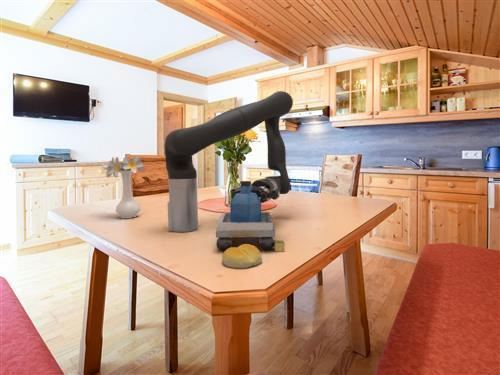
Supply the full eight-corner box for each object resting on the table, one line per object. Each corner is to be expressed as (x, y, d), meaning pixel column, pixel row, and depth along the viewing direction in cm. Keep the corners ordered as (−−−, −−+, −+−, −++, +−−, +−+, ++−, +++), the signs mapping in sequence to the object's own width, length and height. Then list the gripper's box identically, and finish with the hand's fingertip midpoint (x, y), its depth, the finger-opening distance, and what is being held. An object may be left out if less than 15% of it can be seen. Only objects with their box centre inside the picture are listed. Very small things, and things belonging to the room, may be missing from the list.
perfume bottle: (249, 227, 76) (249, 182, 75) (230, 225, 79) (229, 181, 78) (261, 223, 81) (261, 180, 80) (242, 220, 85) (242, 180, 83)
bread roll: (216, 261, 68) (216, 244, 67) (248, 254, 73) (248, 238, 72) (233, 273, 61) (233, 255, 60) (268, 264, 66) (267, 247, 65)
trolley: (216, 252, 73) (215, 223, 73) (221, 236, 88) (221, 212, 87) (284, 251, 73) (284, 223, 73) (278, 235, 88) (278, 211, 88)
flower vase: (119, 213, 126) (116, 155, 124) (155, 215, 121) (153, 155, 118) (95, 219, 114) (91, 155, 111) (135, 222, 109) (131, 155, 106)
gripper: (244, 178, 98) (223, 182, 83) (285, 179, 93) (271, 183, 78) (244, 200, 99) (224, 208, 84) (285, 202, 94) (271, 211, 79)
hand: (247, 196), depth 81 cm, fingers open, 8 cm apart
